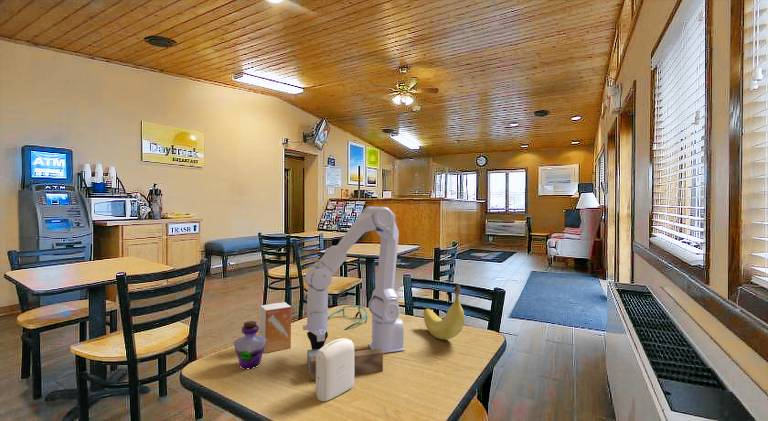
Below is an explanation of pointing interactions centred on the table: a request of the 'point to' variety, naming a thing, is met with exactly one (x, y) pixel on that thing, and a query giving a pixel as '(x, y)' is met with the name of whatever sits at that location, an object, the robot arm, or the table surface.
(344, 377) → the photo printer
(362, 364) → the walnut board
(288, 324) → the small box
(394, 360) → the table surface
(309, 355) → the slate block
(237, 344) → the potion bottle
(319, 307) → the robot arm
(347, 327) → the safety glasses
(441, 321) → the banana
